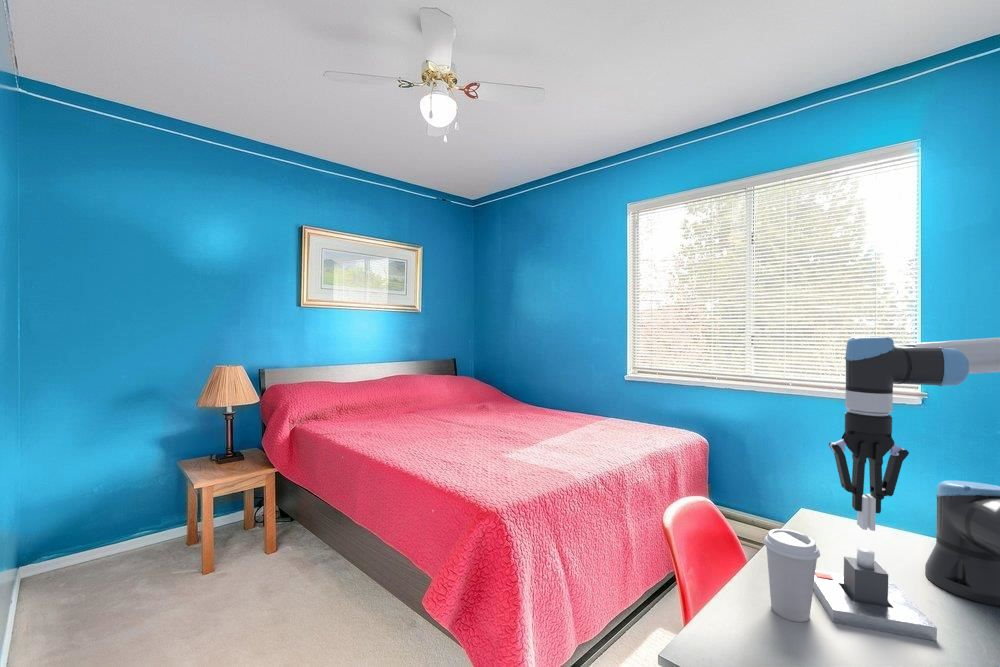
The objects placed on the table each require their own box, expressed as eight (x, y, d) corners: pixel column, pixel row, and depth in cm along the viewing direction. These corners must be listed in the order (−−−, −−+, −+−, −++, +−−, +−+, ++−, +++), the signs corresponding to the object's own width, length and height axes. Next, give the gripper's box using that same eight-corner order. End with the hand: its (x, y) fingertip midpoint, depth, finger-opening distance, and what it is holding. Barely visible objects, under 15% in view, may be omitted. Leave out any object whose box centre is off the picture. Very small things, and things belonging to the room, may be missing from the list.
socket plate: (892, 593, 98) (893, 581, 98) (936, 641, 83) (936, 626, 83) (806, 579, 103) (806, 567, 103) (833, 622, 88) (833, 608, 88)
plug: (874, 599, 95) (875, 546, 95) (887, 614, 90) (888, 559, 89) (843, 594, 97) (844, 542, 96) (854, 609, 91) (855, 554, 91)
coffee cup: (828, 630, 86) (830, 551, 85) (773, 623, 87) (774, 545, 87) (805, 601, 95) (806, 529, 95) (755, 595, 97) (756, 525, 97)
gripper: (899, 411, 94) (897, 524, 94) (822, 407, 98) (820, 515, 99) (919, 418, 87) (917, 540, 87) (835, 413, 91) (833, 529, 91)
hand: (866, 527), depth 93 cm, fingers closed
